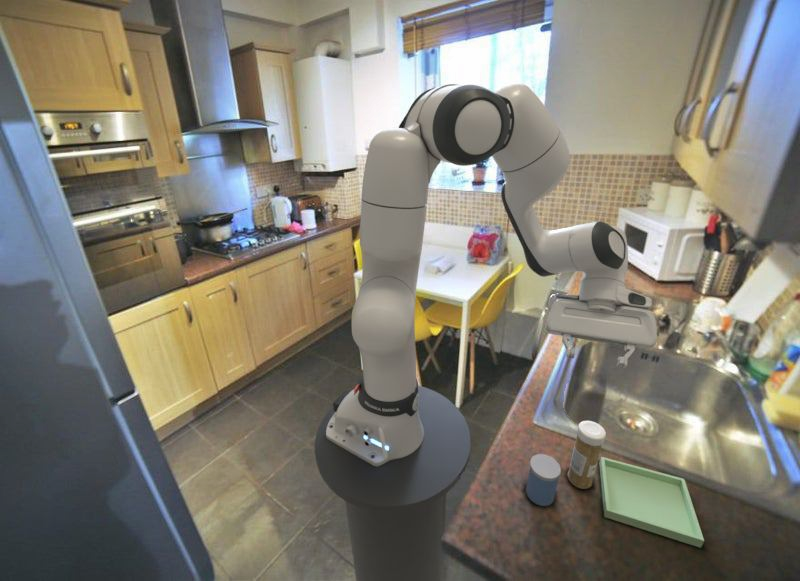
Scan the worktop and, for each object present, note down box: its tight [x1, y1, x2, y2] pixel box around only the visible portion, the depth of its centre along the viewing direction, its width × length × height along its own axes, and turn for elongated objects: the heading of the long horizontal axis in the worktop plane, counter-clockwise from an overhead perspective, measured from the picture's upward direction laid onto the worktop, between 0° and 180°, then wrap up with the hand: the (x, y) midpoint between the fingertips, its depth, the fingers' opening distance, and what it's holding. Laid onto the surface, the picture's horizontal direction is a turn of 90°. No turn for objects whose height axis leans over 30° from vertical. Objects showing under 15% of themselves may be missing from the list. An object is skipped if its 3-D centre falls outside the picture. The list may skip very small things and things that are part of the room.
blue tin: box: [525, 453, 562, 507], centre depth 68 cm, size 5×5×8 cm
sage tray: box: [598, 456, 705, 549], centre depth 67 cm, size 14×12×2 cm
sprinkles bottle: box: [567, 420, 607, 490], centre depth 69 cm, size 5×5×14 cm
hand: (595, 361), depth 74 cm, fingers open, 8 cm apart
